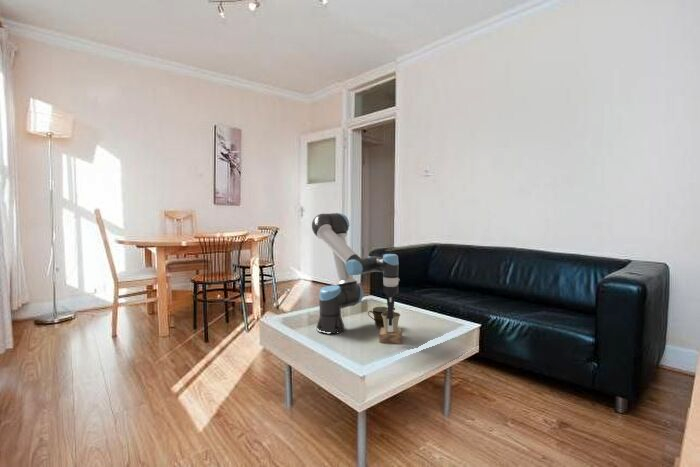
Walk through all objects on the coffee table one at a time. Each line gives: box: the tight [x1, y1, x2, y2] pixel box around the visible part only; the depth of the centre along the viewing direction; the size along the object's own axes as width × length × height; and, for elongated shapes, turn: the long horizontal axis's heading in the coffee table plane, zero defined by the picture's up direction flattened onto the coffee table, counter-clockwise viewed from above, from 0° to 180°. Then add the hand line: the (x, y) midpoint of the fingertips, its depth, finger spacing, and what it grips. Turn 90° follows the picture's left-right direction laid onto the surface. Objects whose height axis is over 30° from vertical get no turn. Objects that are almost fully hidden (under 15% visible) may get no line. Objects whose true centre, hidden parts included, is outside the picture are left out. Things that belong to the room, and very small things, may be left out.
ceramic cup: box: [367, 306, 388, 329], centre depth 199 cm, size 13×10×10 cm
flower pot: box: [381, 311, 401, 333], centre depth 180 cm, size 9×9×9 cm
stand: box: [378, 327, 403, 344], centre depth 180 cm, size 11×11×4 cm
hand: (390, 327), depth 180 cm, fingers open, 13 cm apart
